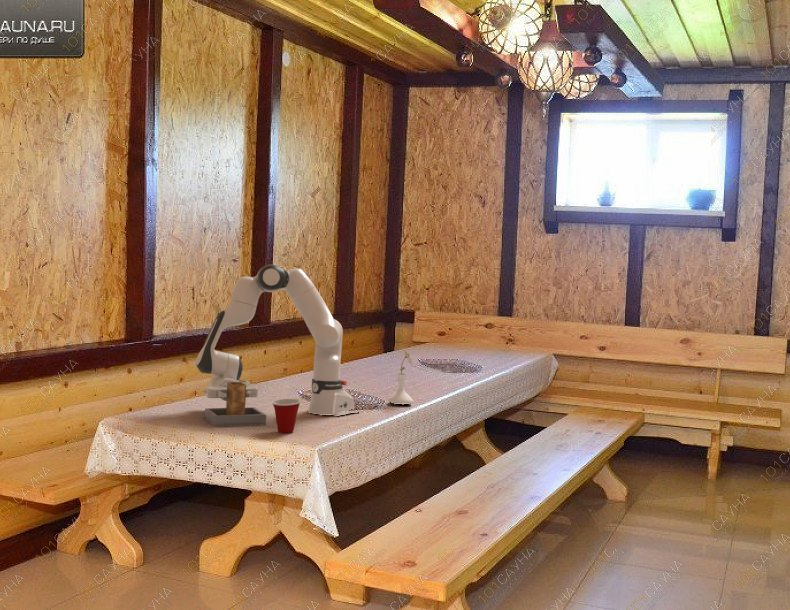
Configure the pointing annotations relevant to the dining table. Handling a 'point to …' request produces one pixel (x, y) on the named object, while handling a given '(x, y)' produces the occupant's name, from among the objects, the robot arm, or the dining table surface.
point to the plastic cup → (286, 414)
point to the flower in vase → (401, 385)
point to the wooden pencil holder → (236, 398)
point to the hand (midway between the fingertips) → (236, 395)
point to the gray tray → (235, 417)
